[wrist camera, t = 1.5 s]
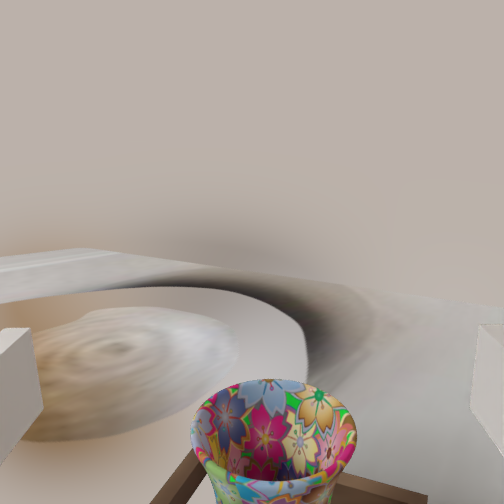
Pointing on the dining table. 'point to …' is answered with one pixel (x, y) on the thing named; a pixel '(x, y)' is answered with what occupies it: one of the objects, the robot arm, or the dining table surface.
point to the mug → (273, 442)
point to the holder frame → (343, 497)
